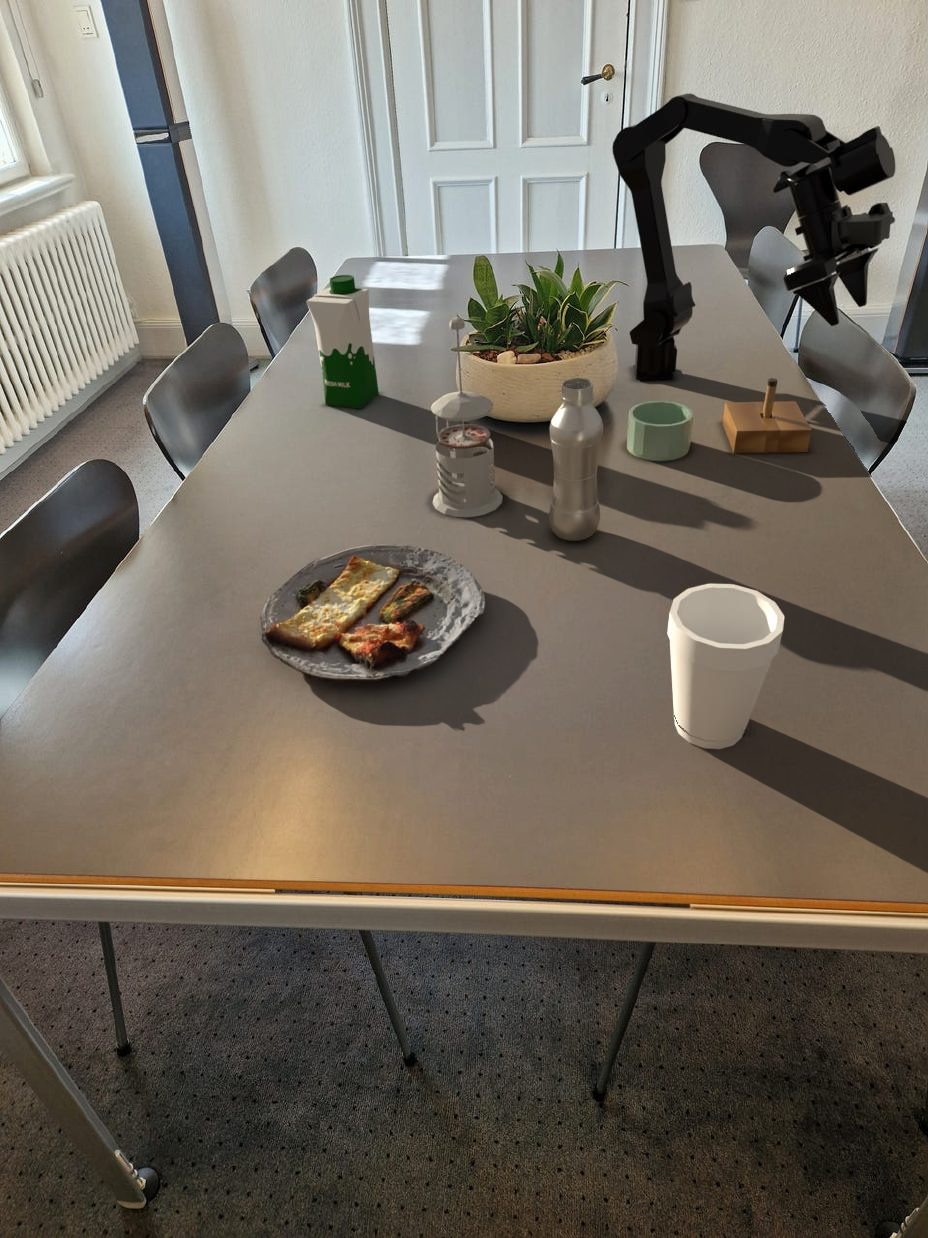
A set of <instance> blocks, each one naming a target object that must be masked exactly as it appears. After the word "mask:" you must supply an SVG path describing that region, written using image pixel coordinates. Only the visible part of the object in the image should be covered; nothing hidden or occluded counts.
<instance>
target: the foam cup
mask: <svg viewBox="0 0 928 1238" xmlns="http://www.w3.org/2000/svg"><path fill="white" fill-rule="evenodd" d="M784 624H785V615H784V613H783V611H782V610H781V609H780V607H779V606H778V604H777V602H775V601H774V600H772V599H771V598H769V597H767V596H766V595H764V594H763V593H762V592H760V591H758V590H755V589H751V588H748V587H744V586H741V585H737V584H733V583H705V584H701V585H697V586H694V587H693V586H692V587H689V588H687V589H685V590H684V591H682V592H681V593H679V595H677V596H676V597H674V598H673V600H672V603H671V607H670V610H669V615H668V623H667V637H668V639H669V647H670V648H669V650H670V651H669V652H670V668H671V669H670V670H671V684H672V686H671V687H672V703H673V719H674V726H675V728H676V731H677V733H678V735H680V736H681V737H682V738H683V739H684V740H685V741H687V742H688V743H689V744H692V745H694V746H696V747H699V748H702V749H710V750H722V749H727V748H729V747H732V746H735V745H736V743H738V742H739V741H740V740H741V739H742V738H743V735H744V733H745V732H746V729H747V727H748V725H749V722H750V720H751V716H752V713H753V711H754V709H755V707H756V704H757V701H758V699H759V696H760V694H761V691H762V689H763V686H764V683H765V681H766V678H767V676H768V673H769V670H770V669H771V665H772V663H773V660H774V658H775V657H776V656H777V655H778V654H779V650H780V645H781V641H782V636H783V631H784ZM674 715H675V717H676V719H675V717H674ZM676 720H677V722H678V724H677V722H676ZM678 725H680V726H681V727H682V728H684V730H686V731H687V732H688V733H689V734H690V735H693V736H696V737H700V738H702V739H705V740H714V741H715V740H718V741H723V740H727V739H731V738H735V737H737V738H736V739H733V740H729V741H726V742H722V743H720V742H705V741H702V740H699V739H697V738H694V737H691V736H689V735H688V734H687V733H686V732H684V731H683V730H682V729H681V728H680V727H679V726H678ZM744 730H745V731H744ZM743 731H744V732H743ZM742 732H743V733H742ZM741 733H742V734H741Z"/></svg>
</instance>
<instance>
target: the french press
mask: <svg viewBox="0 0 928 1238" xmlns="http://www.w3.org/2000/svg"><path fill="white" fill-rule="evenodd" d="M448 325H449V330H453V331H454V330H456V344H457V347H456V348H457V361H458V362H457V363H458V377H459V390H458V391H454V392H449V393H446V394H444V395H443V396H441V397H440V398H438V399H436V401H435V402H433V403H431V407H430V410H431V412H432V414H434V415H435V431H436V439H437V441H438V442H436V445H435V457H436V467H437V481H438V492H437V493H436V494H435V495H434V496H433V500H432V505H433V507H434V508H435V510H436V511H438V512H440V513H441V514H443V515H444V516H445V515H446V516H450V517H455V518H474V517H479V516H484V515H487V514H489V513H491V512H493V511H495V510H497V509H498V508H499V507H500V506H501V505H502V504H503V496H504V495H502V494H501V492H500V490H499V489H497V488H496V476H495V475H496V474H495V472H496V471H495V465H494V464H495V450H494V449H495V448H494V447H495V446H494V442H493V440H492V439H491V431H490V430H489V429H488V428H487V427H485V426H482V425H480V424H474V423H470V424H469V423H465V422H470V421H475V420H479V419H481V418H484V417H486V416H487V415H489V414H490V413H491V412H492V410H493V407H494V402H493V401H492V399H490V398H488V397H487V396H485V395H482V394H480V393H479V392H474V391H473V392H472V391H467V390H466V391H465V390H463V385H462V383H463V382H462V369H461V354H460V353H461V352H460V351H461V349H460V334H459V331H460V330H462V329H465V327H466V324H465V321H464V319H463V318H461V317H453V318H451V320H449V323H448ZM438 418H440V419H442V420H445V421H446V427H444V428H443V429H441V430H440V431H439V424H438V420H439V419H438ZM449 421H450V422H461V423H460V424H453V425H449V424H450V422H449ZM484 444H486V445H487V446H489V447H490V449H489V448H487V447H486V446H482V445H484ZM451 449H452V450H453V452H454V454H455V457H451ZM480 452H481V453H483V454H480V455H474V454H475V453H480ZM453 474H454V475H456V477H453Z"/></svg>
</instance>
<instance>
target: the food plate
mask: <svg viewBox="0 0 928 1238" xmlns="http://www.w3.org/2000/svg"><path fill="white" fill-rule="evenodd" d="M485 608H486V596H485V593H484V591H483V587H482V586H481V584H480V583H479V582H478V580H477V579H476V578H475V577H474V575H473V574H472V572H471V571H470V569H468V568H467V567H466V566H464V565H463V564H462V563H460V562H459V561H456V560H455V559H454V558H452V556H451V555H450V556H447V555H446V554H443V553H441V552H439V551H435V550H431V549H425V548H422V547H418V546H415V545H412V544H384V543H383V544H382V543H381V544H380V543H379V544H368V545H362V546H353V547H351V548H347V549H343V550H339V551H336V552H335V553H333V554H330V555H328V556H324V557H321V558H318V559H315V560H312V561H311V562H309V563H308V564H307V565H305V566H304V567H302V568H301V569H300V570H299V571H297V572H296V573H295V574H293V575H292V576H291V578H289V579H288V580H287V581H286V582H284V583H283V584H282V586H280V587H279V588H278V589H277V590H275V591H274V592H273V595H272V596H269V598H268V599H267V601H266V602H265V603H264V605H263V607H262V610H261V614H260V627H261V641H262V643H263V644H264V645H265V646H266V648H267V649H268V651H269V653H270V655H271V656H273V658H275V659H277V660H279V661H280V662H281V663H282V664H284V665H286V666H288V667H289V668H292V669H293V670H295V671H297V672H300V673H301V674H303V675H305V676H306V677H308V678H312V679H316V680H319V681H320V680H321V681H325V682H338V683H339V682H342V683H343V682H362V683H370V684H373V683H376V682H379V681H381V682H384V681H388V680H391V679H392V682H395V678H394V677H393V676H395V677H396V678H402V677H403V678H404V677H406V676H407V675H408V674H409V673H410V672H411V671H413V670H417V671H418V672H419V671H422V670H424V669H426V668H427V667H429V666H430V665H431V664H433V663H434V662H436V661H437V660H438V659H441V657H440V656H442V655H443V654H444V653H445V652H446V651H447V650H449V648H450V647H452V646H453V644H454V643H456V642H457V641H458V640H459V639H460V637H461V635H462V634H463V633H464V632H465V631H466V630H467V629H468V628H470V627H471V625H472V623H473V622H474V621H475V619H476V618H477V617H479V616H480V615H483V614H484V612H485Z"/></svg>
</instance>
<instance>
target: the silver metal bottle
mask: <svg viewBox="0 0 928 1238" xmlns="http://www.w3.org/2000/svg"><path fill="white" fill-rule="evenodd" d="M594 397H595V394H594V382H593V381H592V380H591V379H589V378H585V377H572V378H568V379H565V380H564V381H563V382H562V384H561V394H560V401H561V402H562V404H561V405H560V407H559V408H558V409H557V410H556V412H555V413H554V415H553V416H552V418H551V420H550V424H549V439H550V444H551V450H552V462H553V463H552V464H553V487H552V497H551V502H550V506H549V512H548V520H549V524H550V525H549V527H550V529H551V531H552V532H553V534H554V535H555V536H557V537H558V538H560V539H562V540H565V541H571V542H572V541H573V542H574V541H575V542H576V541H583V540H586V539H589V538H591V536H593V535H594V534H595V532H596V531H597V530H598V528H599V525H600V520H601V509H600V502H599V498H598V479H597V477H598V466H599V456H600V451H601V445H602V439H603V435H604V434H603V433H604V423H603V419H602V417H601V415H600V414H599V411H598V410H597V409H596V407H595V406H594V404H592V402H593V401H594V400H595V399H594Z"/></svg>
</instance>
